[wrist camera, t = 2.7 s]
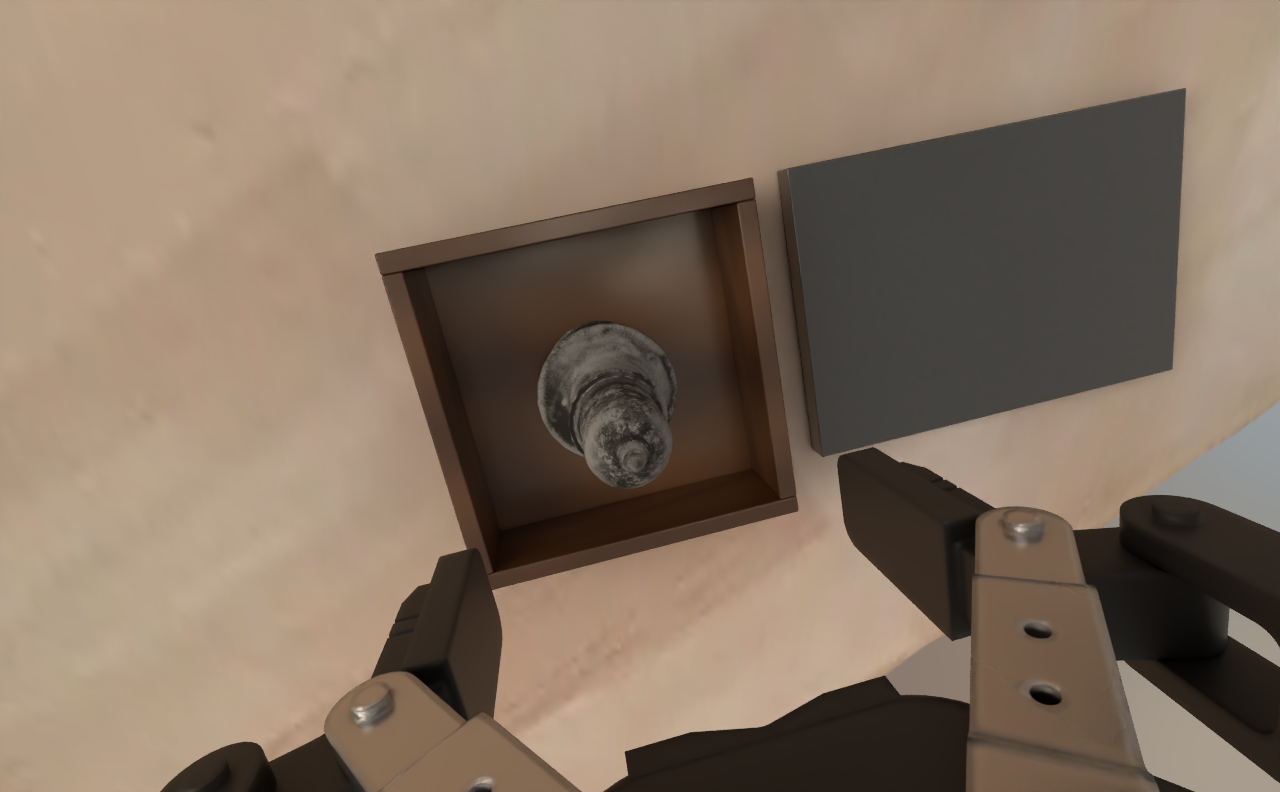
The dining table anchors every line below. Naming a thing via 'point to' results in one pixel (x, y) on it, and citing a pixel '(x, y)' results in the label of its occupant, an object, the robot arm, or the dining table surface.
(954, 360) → the slate board
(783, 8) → the dining table surface
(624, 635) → the dining table surface
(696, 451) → the wooden box
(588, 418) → the stone chess piece
